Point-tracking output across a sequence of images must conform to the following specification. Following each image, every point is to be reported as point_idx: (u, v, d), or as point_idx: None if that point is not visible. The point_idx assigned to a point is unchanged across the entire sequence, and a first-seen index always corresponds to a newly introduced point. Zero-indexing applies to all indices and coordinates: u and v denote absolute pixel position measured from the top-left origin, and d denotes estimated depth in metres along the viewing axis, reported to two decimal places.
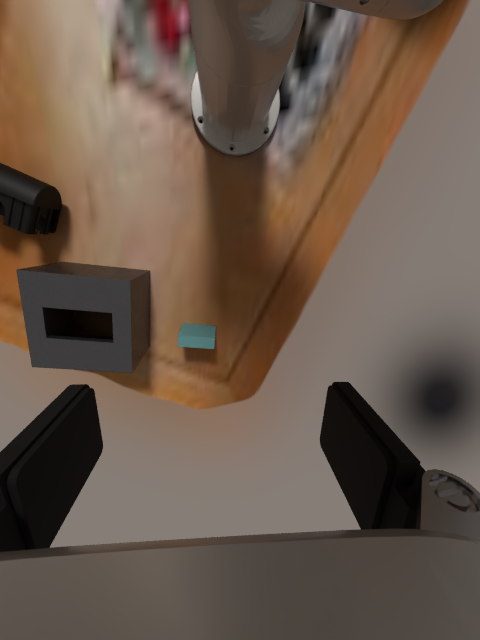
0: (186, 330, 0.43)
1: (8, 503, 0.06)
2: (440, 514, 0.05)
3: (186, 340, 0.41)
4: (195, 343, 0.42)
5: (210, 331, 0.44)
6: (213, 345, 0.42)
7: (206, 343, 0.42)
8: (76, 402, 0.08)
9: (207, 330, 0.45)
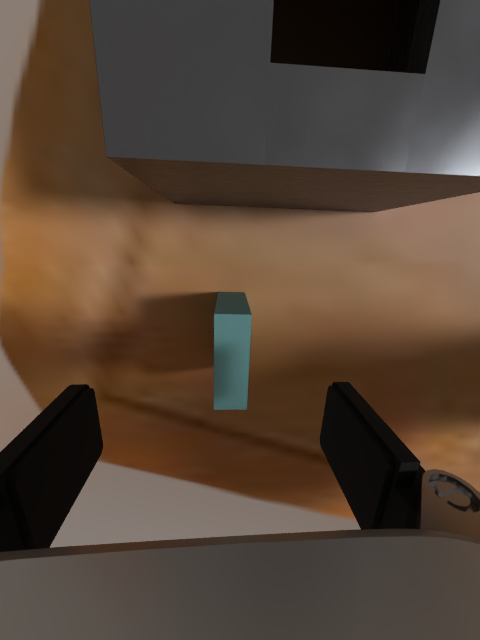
0: None
1: (8, 503, 0.06)
2: (440, 514, 0.05)
3: (235, 338, 0.14)
4: (227, 362, 0.14)
5: None
6: (224, 407, 0.15)
7: (229, 390, 0.15)
8: (76, 402, 0.08)
9: None
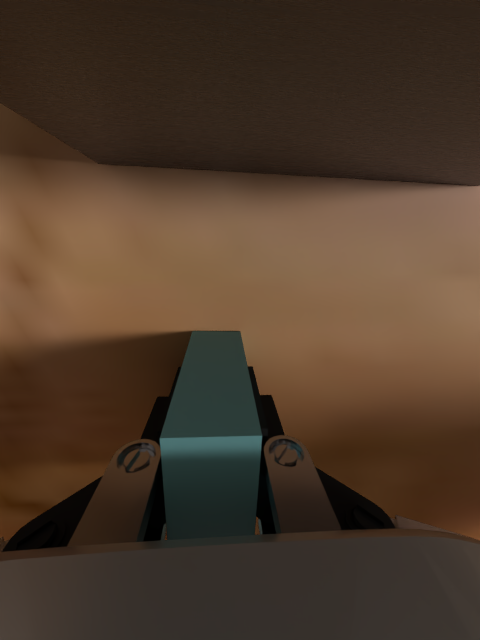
0: None
1: None
2: (284, 480, 0.06)
3: (221, 488, 0.05)
4: (202, 537, 0.06)
5: None
6: None
7: None
8: None
9: None
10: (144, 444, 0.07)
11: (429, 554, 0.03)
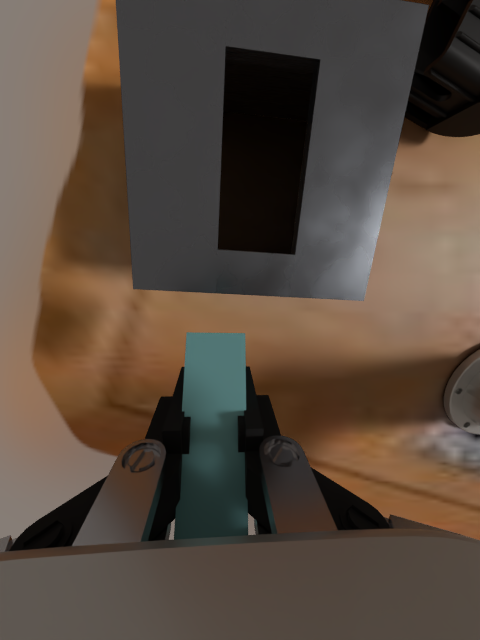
0: None
1: (182, 452, 0.07)
2: (279, 481, 0.06)
3: (221, 373, 0.08)
4: (207, 422, 0.08)
5: None
6: None
7: (210, 489, 0.07)
8: None
9: None
10: (149, 444, 0.07)
11: (429, 554, 0.03)
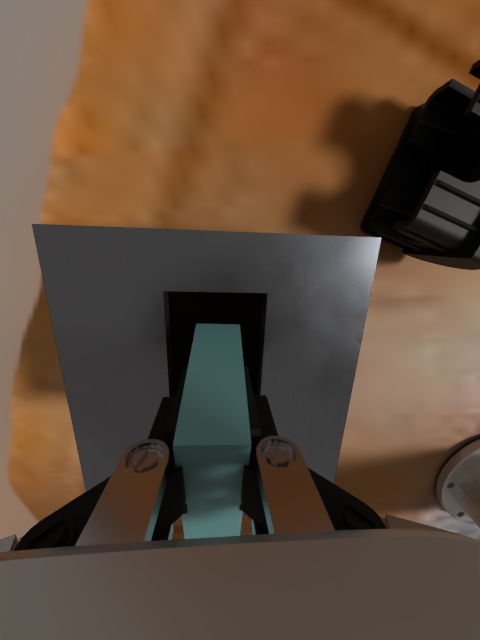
0: None
1: None
2: (276, 481, 0.06)
3: (222, 340, 0.10)
4: (210, 364, 0.09)
5: None
6: (199, 438, 0.07)
7: (212, 403, 0.08)
8: None
9: None
10: (152, 444, 0.07)
11: (429, 554, 0.03)
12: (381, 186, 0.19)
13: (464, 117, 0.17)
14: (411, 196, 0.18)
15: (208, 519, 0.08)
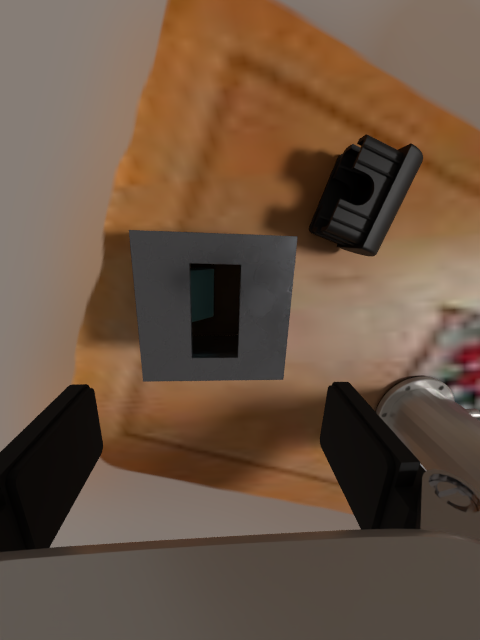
0: (207, 289, 0.30)
1: (8, 503, 0.06)
2: (440, 514, 0.05)
3: (200, 268, 0.30)
4: None
5: None
6: None
7: None
8: (76, 402, 0.08)
9: None
10: None
11: (429, 554, 0.03)
12: (320, 204, 0.30)
13: None
14: None
15: None
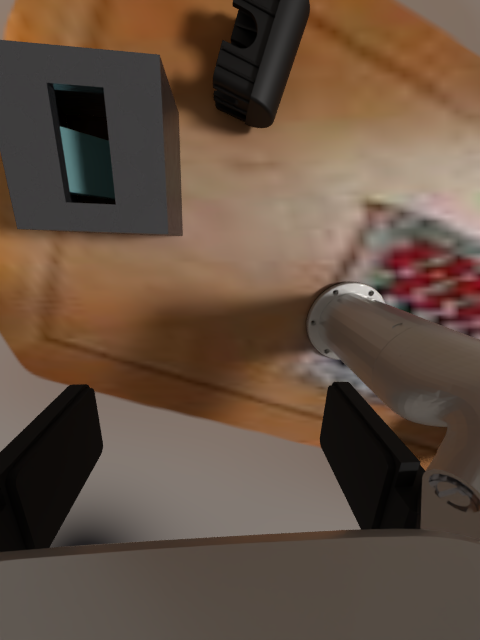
0: (108, 163, 0.29)
1: (8, 503, 0.06)
2: (440, 514, 0.05)
3: None
4: None
5: (68, 160, 0.27)
6: None
7: None
8: (76, 402, 0.08)
9: (74, 166, 0.27)
10: None
11: (429, 554, 0.03)
12: None
13: None
14: None
15: None
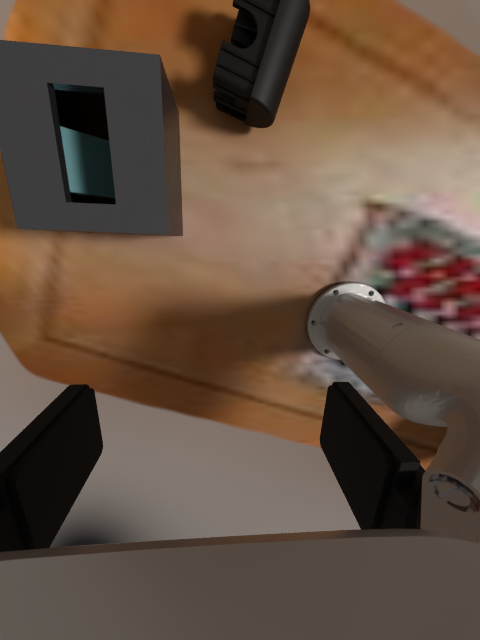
0: (108, 163, 0.29)
1: (8, 503, 0.06)
2: (440, 514, 0.05)
3: None
4: None
5: (68, 160, 0.27)
6: None
7: None
8: (76, 402, 0.08)
9: (75, 166, 0.27)
10: None
11: (428, 554, 0.03)
12: None
13: None
14: None
15: None
